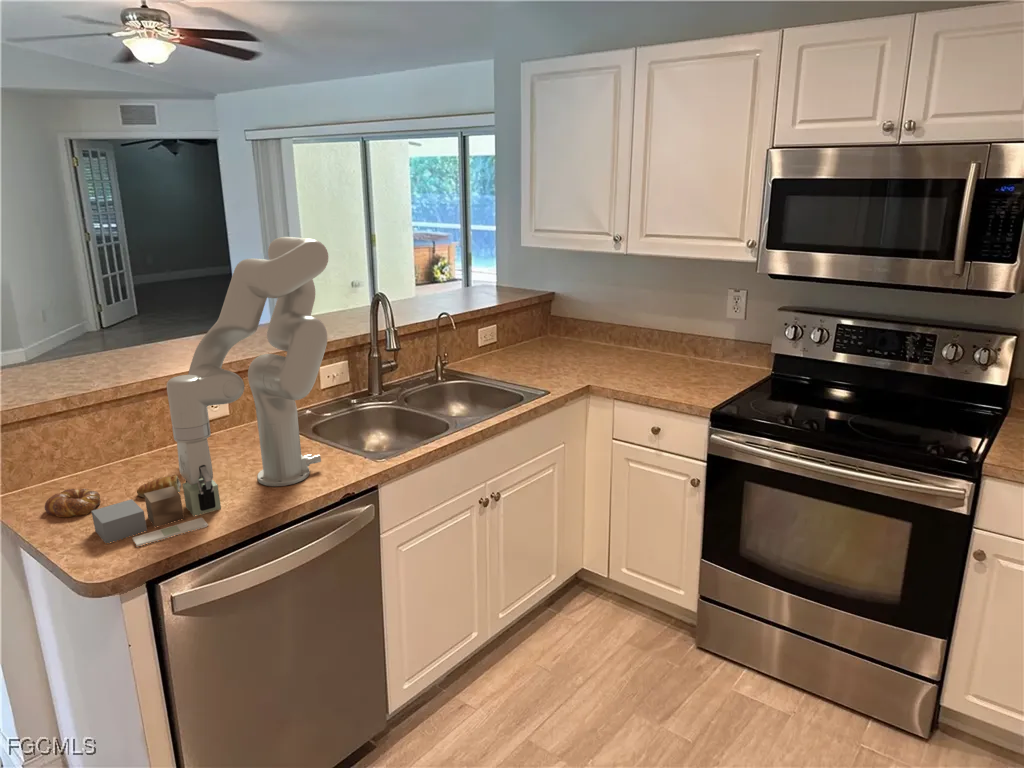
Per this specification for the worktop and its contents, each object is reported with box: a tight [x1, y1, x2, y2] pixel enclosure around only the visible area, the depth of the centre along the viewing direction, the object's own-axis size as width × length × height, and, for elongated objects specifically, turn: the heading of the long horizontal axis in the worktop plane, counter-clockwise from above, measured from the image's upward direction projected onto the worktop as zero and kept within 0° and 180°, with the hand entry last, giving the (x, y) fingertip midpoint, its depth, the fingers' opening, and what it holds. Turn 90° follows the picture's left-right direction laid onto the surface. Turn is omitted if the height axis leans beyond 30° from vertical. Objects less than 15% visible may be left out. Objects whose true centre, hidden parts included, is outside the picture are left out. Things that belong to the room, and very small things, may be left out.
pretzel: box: [44, 488, 101, 519], centre depth 162 cm, size 12×11×4 cm
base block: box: [91, 498, 148, 544], centre depth 151 cm, size 8×8×5 cm
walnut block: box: [144, 486, 185, 528], centre depth 156 cm, size 6×6×6 cm
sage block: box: [181, 478, 222, 517], centre depth 161 cm, size 6×6×6 cm
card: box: [131, 517, 209, 547], centre depth 150 cm, size 14×4×1 cm, turn 129°
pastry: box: [136, 474, 182, 498], centre depth 170 cm, size 9×7×4 cm
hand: (201, 501), depth 161 cm, fingers open, 9 cm apart
